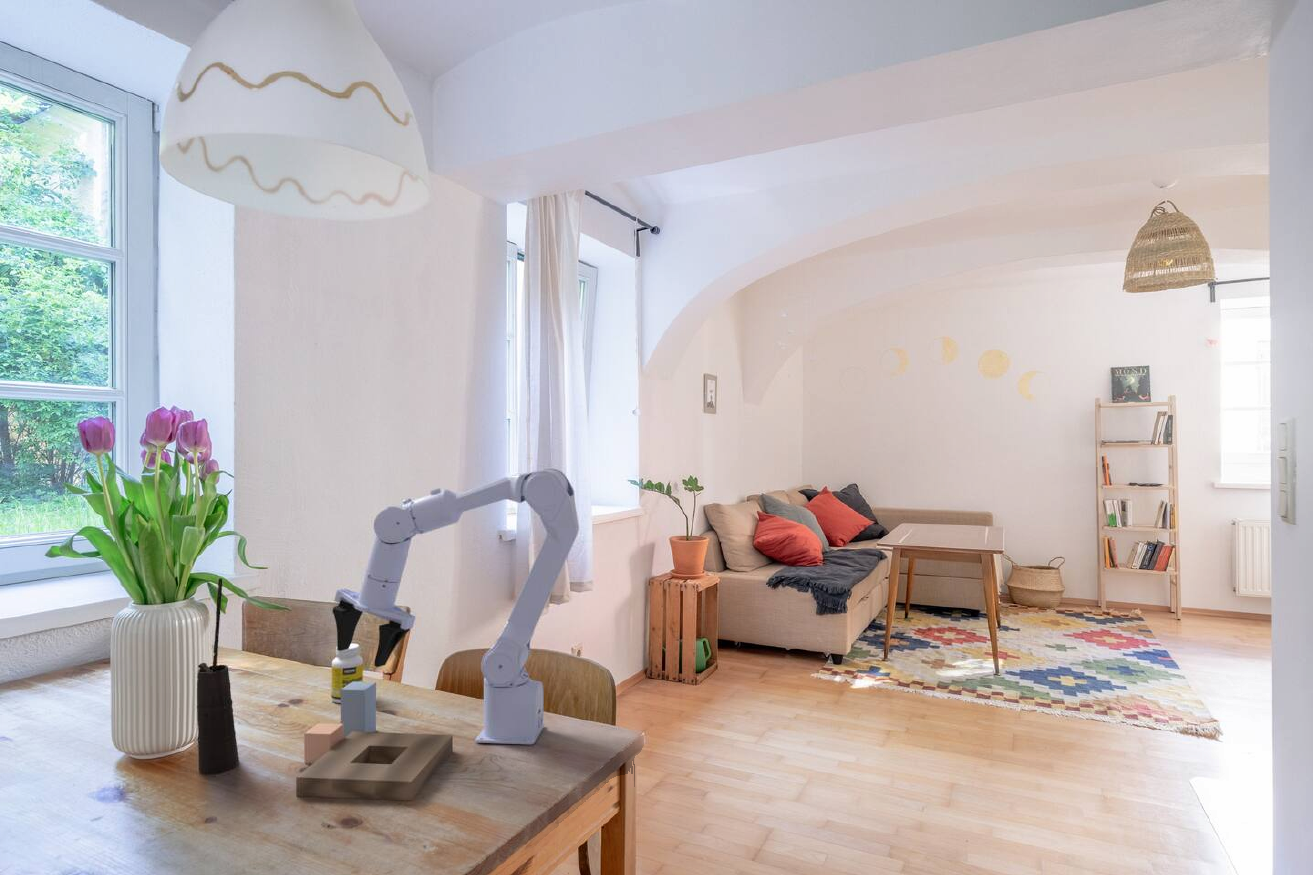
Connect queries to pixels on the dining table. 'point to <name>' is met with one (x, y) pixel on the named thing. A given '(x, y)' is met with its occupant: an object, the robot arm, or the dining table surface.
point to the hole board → (376, 766)
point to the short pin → (321, 740)
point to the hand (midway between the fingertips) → (361, 657)
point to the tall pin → (358, 707)
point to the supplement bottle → (345, 670)
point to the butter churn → (215, 712)
